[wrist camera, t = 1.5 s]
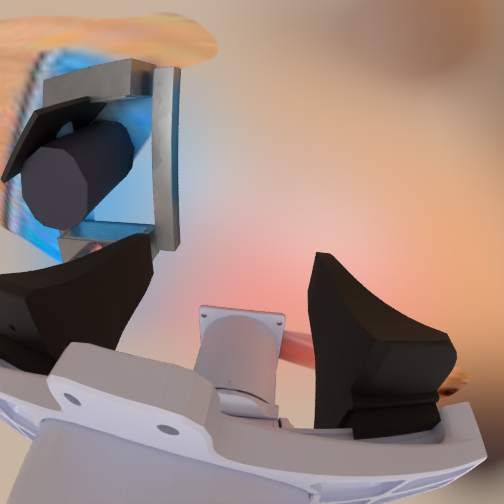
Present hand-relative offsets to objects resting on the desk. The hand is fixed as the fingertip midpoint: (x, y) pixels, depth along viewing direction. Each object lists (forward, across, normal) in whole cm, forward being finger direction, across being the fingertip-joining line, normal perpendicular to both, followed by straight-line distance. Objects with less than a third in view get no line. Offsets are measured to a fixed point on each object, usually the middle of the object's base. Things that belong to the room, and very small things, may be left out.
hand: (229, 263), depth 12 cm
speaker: (+11, +12, -3) cm, 16 cm away
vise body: (+10, +12, -2) cm, 16 cm away
